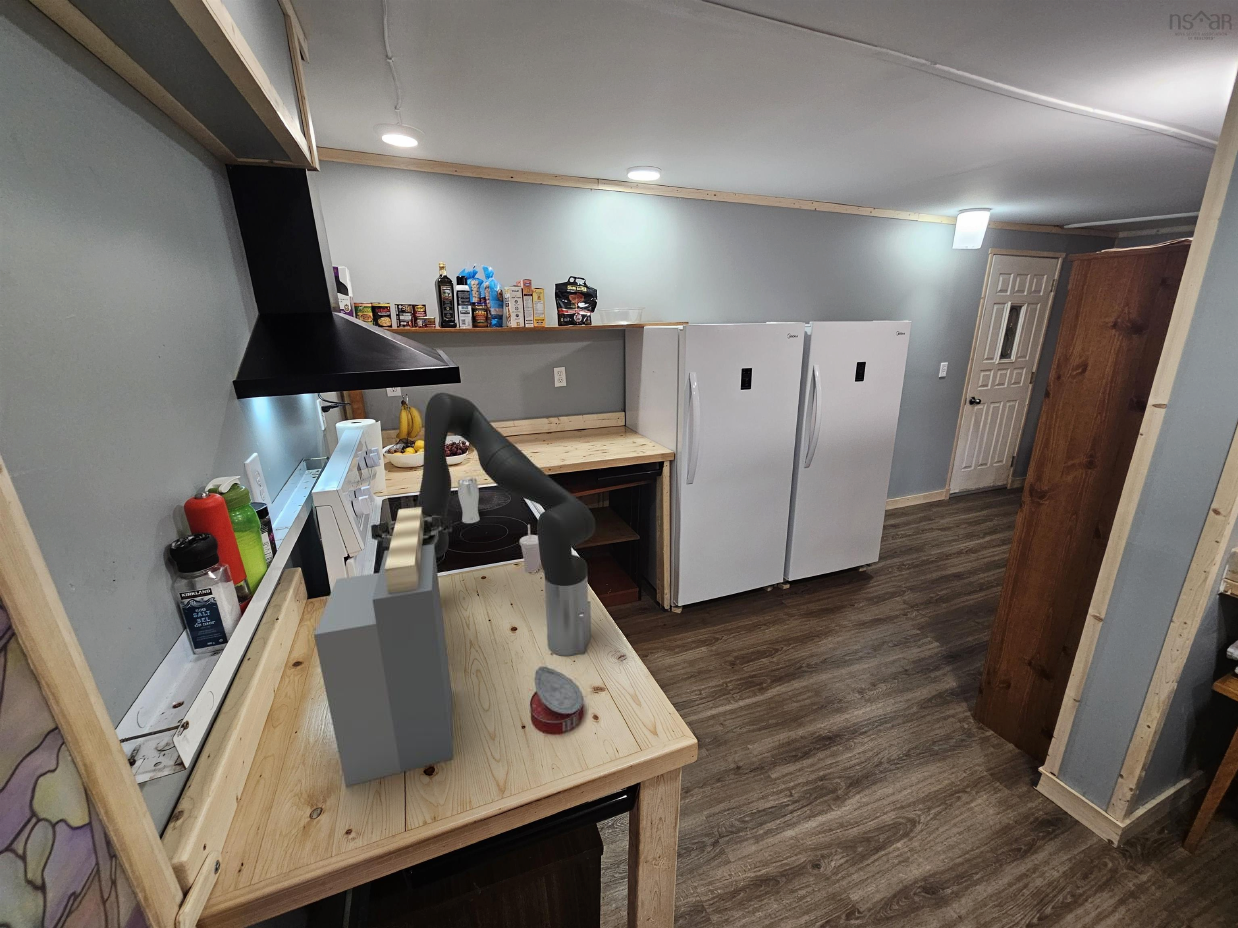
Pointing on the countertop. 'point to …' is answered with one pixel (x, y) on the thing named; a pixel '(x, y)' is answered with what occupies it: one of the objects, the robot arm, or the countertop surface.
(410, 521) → the birch bar
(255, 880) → the countertop surface
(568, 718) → the canned food
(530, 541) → the smoothie
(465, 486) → the beer glass
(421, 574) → the block
